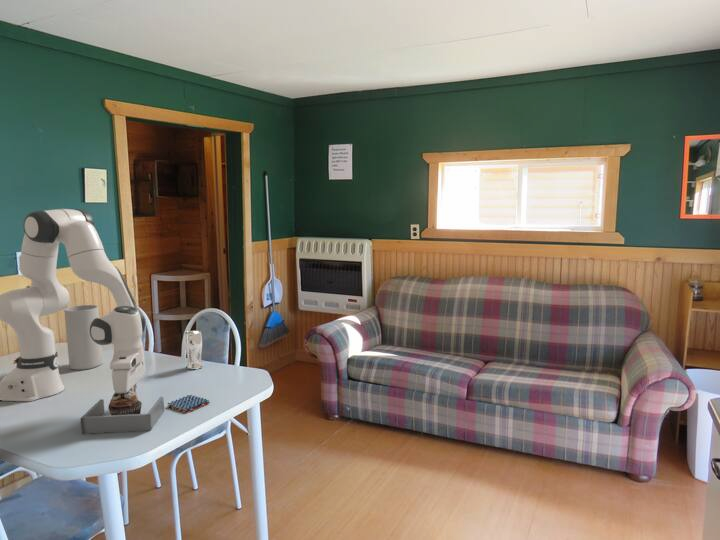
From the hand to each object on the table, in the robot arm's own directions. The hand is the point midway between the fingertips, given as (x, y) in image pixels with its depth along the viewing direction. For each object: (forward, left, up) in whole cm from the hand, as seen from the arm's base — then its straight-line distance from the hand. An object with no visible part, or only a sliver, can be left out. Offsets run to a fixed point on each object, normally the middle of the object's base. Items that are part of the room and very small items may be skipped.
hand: (132, 396), depth 175 cm
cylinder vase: (-37, +54, -5) cm, 66 cm away
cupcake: (0, -7, -5) cm, 8 cm away
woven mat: (+17, +3, -6) cm, 18 cm away
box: (0, -9, -5) cm, 10 cm away
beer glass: (+10, +45, -5) cm, 46 cm away
